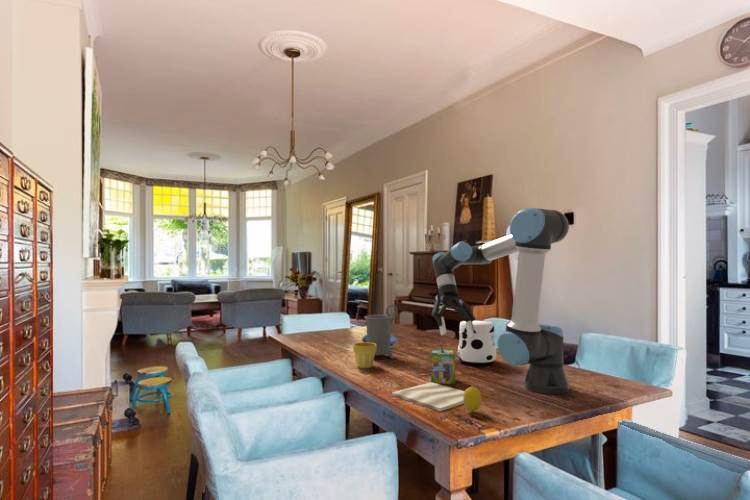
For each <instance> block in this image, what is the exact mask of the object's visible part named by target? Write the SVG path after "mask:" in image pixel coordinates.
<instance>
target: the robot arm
mask: <svg viewBox="0 0 750 500" xmlns="http://www.w3.org/2000/svg"><path fill="white" fill-rule="evenodd" d="M569 229H570V223H569V220H568V218H567V216H565V215H564V213H562V212H561V211H559V210H556V209H547V208H546V209H544V208H537V207H527V208H523V209H520V210H518V211H517V213H515V214H514V215H513V216H512V219H511V220H510V222H509V234H507V235H504V236H501V237H499V238H496V239H494V240H491V241H487V242H485V243H484V244H481V245H475V246H473V245H472V246H471V245H470V244H469V243H467V242H465V241H459V242H457V243H456V244H454V245H453V246H451V248H450V249H449V250H447V251H440V252H438V253H435V254H434V255H433V256H432V264H433V265H432V267H433V270H434V275H435V278H436V285H437V288H438V293H439V294H437V295H436V296H435V297H434V305H433V308H432V311H431V315H430V316H431V317H432V318H434V320H436V322H437V326H438V327H439V332H440V336H444V335H446V334H447V328H446V323H445V322H446V321H445V317H444V316H443V314H444V313H445V311H446V309H451V310H454V312H457V313H458V314H459V315H460V316H461V318H462V319H463V321H466V322H467V323H465V325H466V329H467V333H468V338H469V339H471V338H472V337H474V332H473V324H472V322H473V321H476V317H475V315H474V314H473V313H472V311H471V309H470V308H469V306H468V304H467V303H466V300H465V298H461V299H459V292H458V287H457V282H456V279H455V274H454V270H456V269H457V268H458V267H460V266H461V265H483V266H484V265H489V264H491V263H492V262H493V261H494V260H497V259H500V258H504V257H505V256H509V255H512V254H515V253H518V257H517V266H516V274H515V284H514V293H513V302H512V310H511V311H512V312H511V319H510V320H509V321H507V322H506V324H505V325H506V326H505V332H502V333H501V334H499V337H498V338H497V343H496V344H497V350H498V352H499V355H500V356H501V358H502V359H503V361H505V363H506V364H509V365H510V366H514V367H516V366H526V365H528V370H527V372H526V375H525V378H524V388H525V389H527V390H528V391H531V392H535V393H540V394H548V395H559V394H560V395H561V394H566V393H568V392H569V391H570V384H569V381H568V377H567V375H566V374H567V373H566V372H565V369H564V331H563V329H562V327H560V326H557V325H548V324H542V323H540V324H539V323H538V320H539V319H538V318H539V313H540V311H539V310H540V303H541V294H542V287H543V286H542V284H543V276H544V266H545V259H546V255H547V253H549V252H550V251H551V249H552V245H553V244H555V243H559V242H561V241H563V240H564V239H565V237H566V236H567V234H568V232H569ZM441 303H442V305H441ZM440 305H441V307H440Z"/></svg>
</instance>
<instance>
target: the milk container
mask: <svg viewBox="0 0 750 500" xmlns="http://www.w3.org/2000/svg"><path fill="white" fill-rule="evenodd" d="M465 323H467V322H466V321H465V320H462V321H460V322H459V331H458V334H459V341H458V347H457V357H458V359H459V361H461V362H463V363H466V364H471V365H488V364H493V363H494V362H495V361H496V359H497V354H498V353H497V348H496V344H495V324H494V322H492V321H487V320H474V321H473V322H472V324H473V332H474V337H472V338H471V339H469V338H468V333H467V329H466V325H465Z"/></svg>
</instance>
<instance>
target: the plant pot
mask: <svg viewBox="0 0 750 500" xmlns="http://www.w3.org/2000/svg"><path fill="white" fill-rule="evenodd" d="M352 350H353V353H354V356H355V362H356V366H357V368H360V369H371V368H372V367H373V365H374V364H373V363H374V359H375V356H376V355H375V353H376V350H377V345H376V344H375V343H369V342H367V341H366V342H365V341H364V342H355V343H353V345H352Z"/></svg>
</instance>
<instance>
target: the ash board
mask: <svg viewBox="0 0 750 500" xmlns="http://www.w3.org/2000/svg"><path fill="white" fill-rule="evenodd" d="M464 392H465V390H461V389H459V388H458V389H457V388H454V387H450V386H447V385H444V384H436V383H432V382H431V381H429V382H426V383H423V384H422V383H421V384H419V385H416V386H415V385H414V386H411V387H407V388H403V389H400V390H396V391H392V392H391V395H392V396H393V397H396V398H398V399H402V400H405V401H407V402H411V403H414V404H417V405H420V406H423V407H426V408H430V409H432V410H435V411H438V412H443V411H445V410H446V411H447V410H448V409H452V408H454V407H458V406H461V405H464V401H463V396H464Z"/></svg>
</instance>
